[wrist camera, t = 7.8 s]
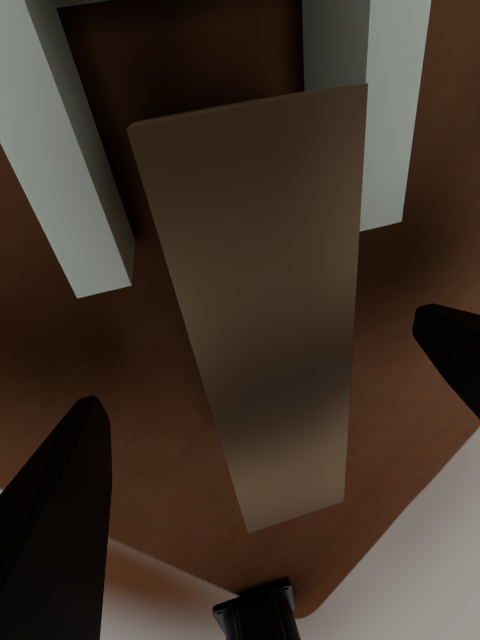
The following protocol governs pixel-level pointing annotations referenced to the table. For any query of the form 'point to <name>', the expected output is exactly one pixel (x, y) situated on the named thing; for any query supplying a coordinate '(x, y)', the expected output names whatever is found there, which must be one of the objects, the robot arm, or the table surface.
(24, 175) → the bracket
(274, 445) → the brown wooden block
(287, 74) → the table surface
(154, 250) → the table surface
